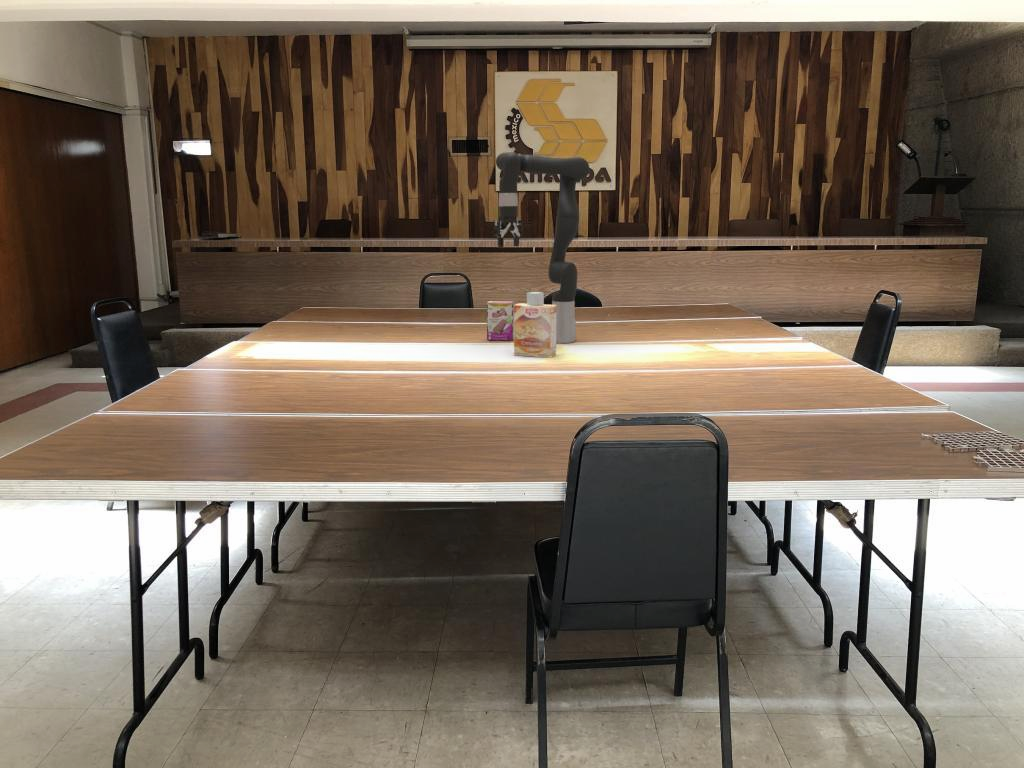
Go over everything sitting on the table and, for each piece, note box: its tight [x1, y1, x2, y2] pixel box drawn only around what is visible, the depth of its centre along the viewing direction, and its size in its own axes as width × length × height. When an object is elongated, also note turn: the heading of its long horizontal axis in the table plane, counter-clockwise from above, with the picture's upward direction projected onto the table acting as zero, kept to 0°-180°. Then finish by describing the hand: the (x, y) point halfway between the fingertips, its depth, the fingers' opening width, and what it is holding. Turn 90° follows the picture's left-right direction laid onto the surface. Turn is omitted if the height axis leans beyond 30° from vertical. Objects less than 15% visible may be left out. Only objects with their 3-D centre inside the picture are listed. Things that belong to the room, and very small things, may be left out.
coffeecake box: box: [513, 302, 557, 358], centre depth 325 cm, size 15×7×20 cm, turn 67°
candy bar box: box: [486, 300, 515, 341], centre depth 359 cm, size 11×5×16 cm, turn 84°
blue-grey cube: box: [526, 291, 545, 306], centre depth 322 cm, size 4×4×4 cm
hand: (508, 246), depth 336 cm, fingers open, 8 cm apart
